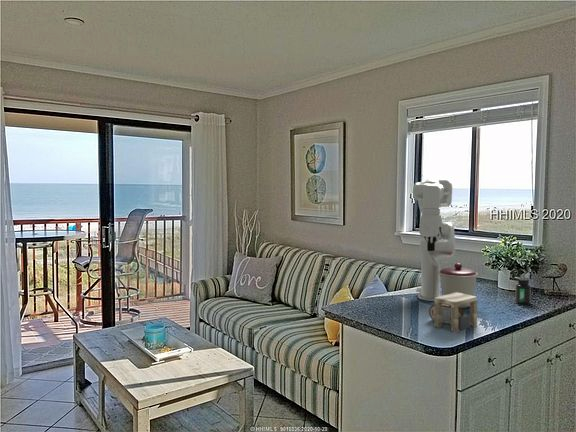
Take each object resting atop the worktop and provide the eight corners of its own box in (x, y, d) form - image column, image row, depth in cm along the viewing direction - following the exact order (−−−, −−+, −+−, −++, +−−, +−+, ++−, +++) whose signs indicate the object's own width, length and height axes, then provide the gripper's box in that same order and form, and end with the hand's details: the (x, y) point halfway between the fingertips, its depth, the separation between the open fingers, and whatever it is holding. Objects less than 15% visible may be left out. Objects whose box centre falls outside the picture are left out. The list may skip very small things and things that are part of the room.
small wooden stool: (434, 326, 190) (434, 297, 189) (456, 320, 198) (456, 292, 197) (455, 332, 181) (455, 302, 181) (476, 325, 190) (477, 296, 189)
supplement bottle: (523, 305, 220) (524, 281, 219) (512, 302, 226) (512, 278, 225) (533, 304, 222) (534, 280, 222) (522, 300, 229) (522, 277, 228)
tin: (465, 325, 190) (465, 306, 190) (462, 327, 188) (462, 307, 187) (430, 319, 200) (431, 300, 199) (428, 321, 198) (428, 302, 197)
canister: (481, 311, 211) (481, 267, 210) (441, 309, 215) (441, 266, 213) (473, 301, 229) (474, 260, 227) (436, 300, 232) (436, 259, 231)
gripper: (413, 211, 212) (413, 249, 213) (439, 213, 199) (438, 254, 201) (424, 210, 216) (423, 247, 217) (450, 212, 203) (449, 252, 205)
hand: (431, 250), depth 209 cm, fingers closed
